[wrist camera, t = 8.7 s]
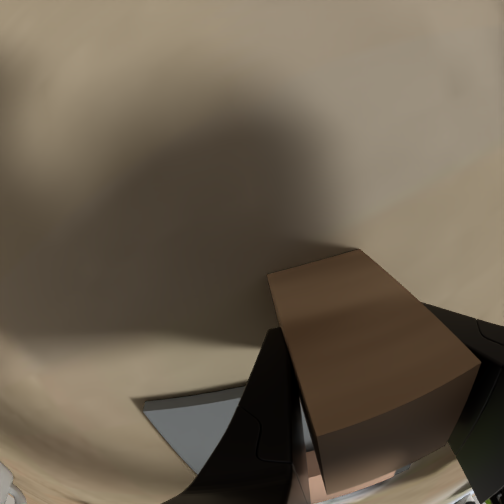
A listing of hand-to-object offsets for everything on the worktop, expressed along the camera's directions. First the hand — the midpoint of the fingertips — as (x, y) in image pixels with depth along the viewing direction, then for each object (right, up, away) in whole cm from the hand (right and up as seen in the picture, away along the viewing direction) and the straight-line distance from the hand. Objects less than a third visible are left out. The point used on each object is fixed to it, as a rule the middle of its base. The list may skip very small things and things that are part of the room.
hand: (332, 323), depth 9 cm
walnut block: (0, 0, +1) cm, 1 cm away
